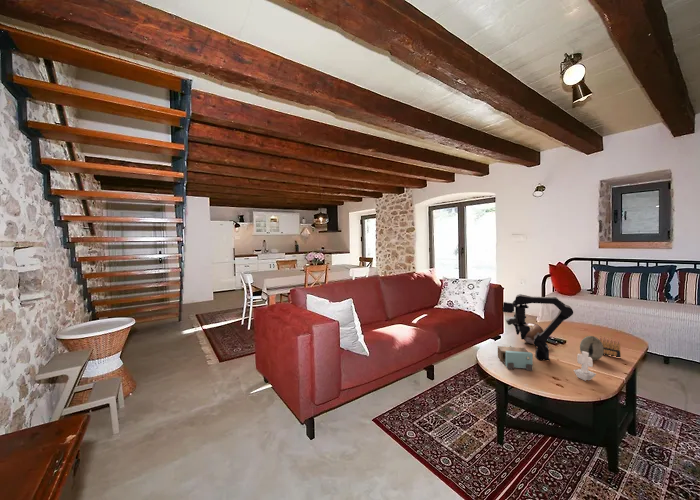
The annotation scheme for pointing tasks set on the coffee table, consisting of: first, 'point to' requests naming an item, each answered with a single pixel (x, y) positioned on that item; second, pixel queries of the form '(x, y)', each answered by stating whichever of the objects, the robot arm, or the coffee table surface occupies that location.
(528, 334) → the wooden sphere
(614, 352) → the ammunition clip
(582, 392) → the coffee table surface
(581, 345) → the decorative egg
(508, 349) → the brown legged block
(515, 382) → the coffee table surface
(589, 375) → the figurine
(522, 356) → the door
